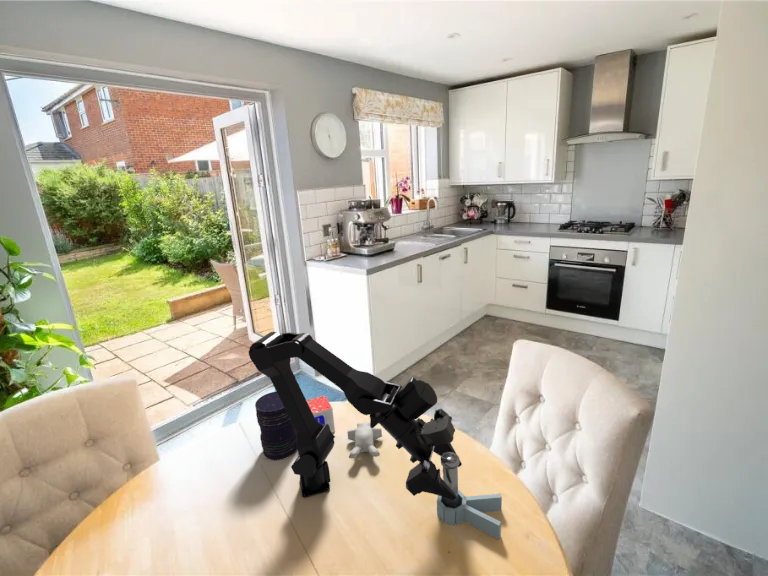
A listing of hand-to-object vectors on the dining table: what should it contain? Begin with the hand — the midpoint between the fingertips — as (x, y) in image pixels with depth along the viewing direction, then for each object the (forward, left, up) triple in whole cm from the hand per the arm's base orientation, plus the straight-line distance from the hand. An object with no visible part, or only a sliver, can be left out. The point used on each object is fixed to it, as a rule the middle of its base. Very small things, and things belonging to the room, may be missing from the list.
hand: (457, 481), depth 80 cm
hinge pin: (-1, +1, -9) cm, 9 cm away
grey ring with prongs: (+2, -1, -9) cm, 9 cm away
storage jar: (-35, +37, -9) cm, 52 cm away
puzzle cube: (-24, +42, -9) cm, 49 cm away
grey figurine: (-13, +29, -9) cm, 33 cm away
